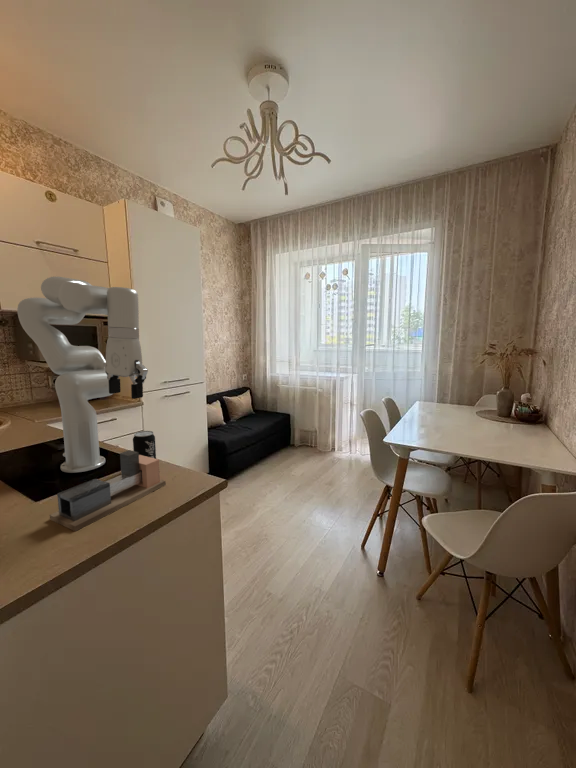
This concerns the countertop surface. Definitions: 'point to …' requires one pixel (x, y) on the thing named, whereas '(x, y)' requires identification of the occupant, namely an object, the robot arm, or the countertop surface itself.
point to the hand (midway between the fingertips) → (125, 395)
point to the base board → (108, 506)
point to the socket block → (149, 471)
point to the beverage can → (144, 443)
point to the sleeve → (84, 499)
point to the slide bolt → (126, 473)
